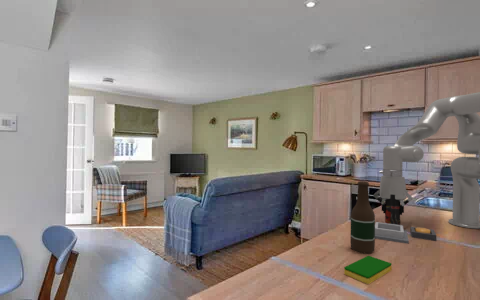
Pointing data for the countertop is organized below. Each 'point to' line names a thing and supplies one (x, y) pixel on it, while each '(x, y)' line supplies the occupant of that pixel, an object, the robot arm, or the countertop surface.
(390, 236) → the grey rectangular tray
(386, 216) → the deodorant
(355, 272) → the dish sponge
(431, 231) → the button housing
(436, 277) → the countertop surface
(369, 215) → the beer bottle
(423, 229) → the button
